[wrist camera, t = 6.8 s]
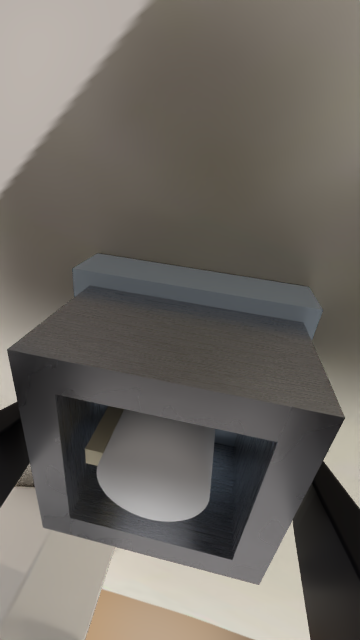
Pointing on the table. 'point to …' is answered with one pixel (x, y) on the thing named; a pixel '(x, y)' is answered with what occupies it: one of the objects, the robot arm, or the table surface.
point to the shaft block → (162, 433)
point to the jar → (46, 575)
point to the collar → (177, 404)
